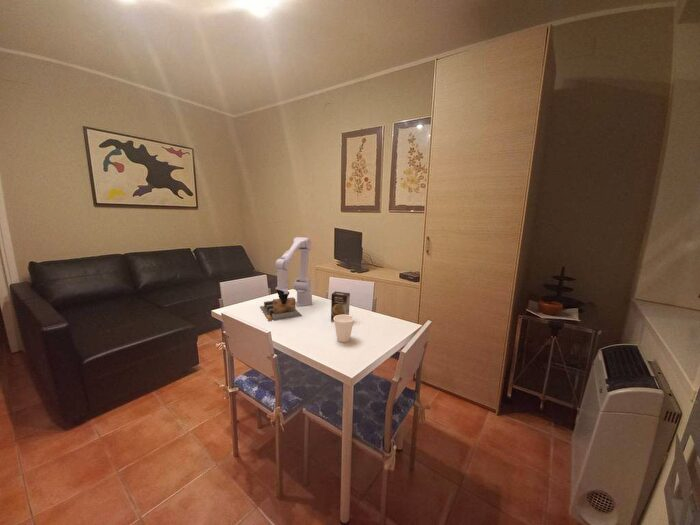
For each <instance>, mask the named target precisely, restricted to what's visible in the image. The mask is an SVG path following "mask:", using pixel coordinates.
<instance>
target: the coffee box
mask: <svg viewBox="0 0 700 525" xmlns="http://www.w3.org/2000/svg"><path fill="white" fill-rule="evenodd" d="M350 297H351V293H350V292H343V291H336V290H335V291H334V292H332V293H331V299H330V300H331V302H330V303H331V306H330V307H331V309H330V322H334V319H333V318H334V317H335V316H337V315H350V301H351V300H350V299H351V298H350Z"/></svg>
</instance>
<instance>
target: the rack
mask: <svg viewBox="0 0 700 525" xmlns="http://www.w3.org/2000/svg"><path fill="white" fill-rule="evenodd" d="M259 309H261V312H262V311H263V312H262V313H263V314H264V316H265V319H266V320H267V319H268V320H267V322H272V320H274V321H279V319H281V320H286V318H287V319H293V318H299V317H302V314H301V313H300V312H299V311H298V310H297V309H296V308H295V310H293V311H286V312H279V313H274V312H273V300H266V301H264V302H263V305H262V306H261V305H259ZM292 317H293V318H292Z"/></svg>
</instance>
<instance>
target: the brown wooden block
mask: <svg viewBox="0 0 700 525" xmlns="http://www.w3.org/2000/svg"><path fill="white" fill-rule="evenodd" d="M272 301H273V312H274V313H279V312H286V311H293V310H295V309H296V303H295V302H296V298H295V297H287V301H286V304H282V302H281V299H279V298H273V299H272Z"/></svg>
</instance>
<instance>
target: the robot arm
mask: <svg viewBox="0 0 700 525" xmlns="http://www.w3.org/2000/svg"><path fill="white" fill-rule="evenodd" d="M292 241H293V242H292V245H291V246H290V248H289V250H286V251H285V252H284V253H283V254H282V256H281V257H279V258H278V259H276V261H275V263H274V268H275V272H276V275H277V278H276V280H277V284H276V285H277V286H276V287H275V291H276V292H277V294H278V299H281V302H282V304H286V301H287V298H289V295H290V291H289V285H288V284H289V282H288V280H289V277H288V272H289V271H288V269H289V268H290V265H291V262H292V261H293V259H294V258H295V253H296V252H297V251H298V250H299V251H300V260H299V261H300V262H299V272H298V276H297V277H296V278H295V280H294V283H293V288H294V290H295V292H296V301H295V305H296V306H298V307H302V306H304V307H305V306H309V305H310V306H311V305H313V293H312V292H313V291H312V290H311V288H312V283H311V278H309V277H308V269H309V268H308V266H309V255H310V251H311V249H312V241H311V238H310V237H303V236H302V237H299V236H295V237H294V238H293V240H292Z"/></svg>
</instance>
